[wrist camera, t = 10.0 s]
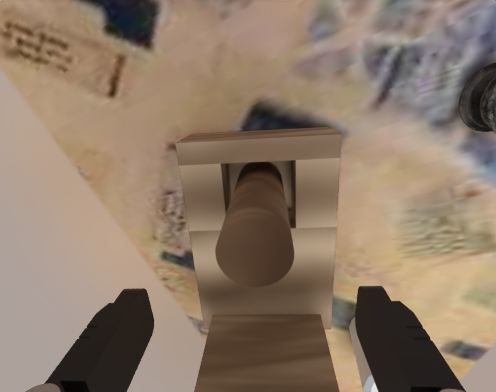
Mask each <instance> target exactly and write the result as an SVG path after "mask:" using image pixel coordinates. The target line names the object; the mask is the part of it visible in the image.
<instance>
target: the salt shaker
mask: <svg viewBox="0 0 496 392" xmlns="http://www.w3.org/2000/svg"><path fill="white" fill-rule="evenodd" d="M459 111H460V116H461V118H462V120H463V122H464V123H465V124H466V125H467V126H468V127H470V128H472V129H474V130H477V131H484V132H489V131H494V132H495V133H496V63H493V64H491V65H489V66H486V67H484V68H483V69H481V70H480V71H479V72H477V73H476V74H475V75H474V76H473V77H472V78H471V79H470V80H469V81H468V83H467V84H466V86H465V88H464V89H463V91H462V94H461V97H460V101H459Z"/></svg>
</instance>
